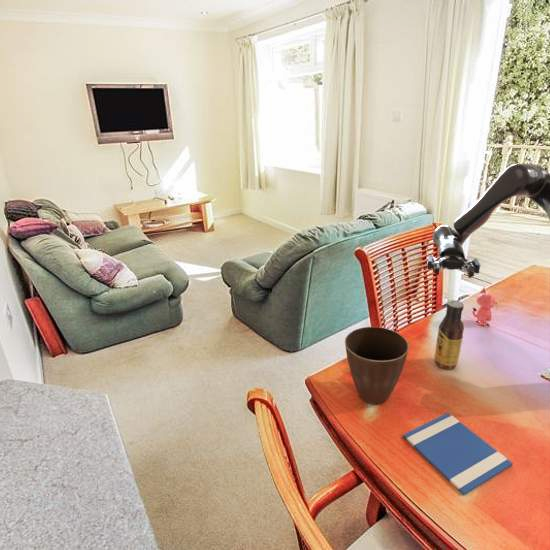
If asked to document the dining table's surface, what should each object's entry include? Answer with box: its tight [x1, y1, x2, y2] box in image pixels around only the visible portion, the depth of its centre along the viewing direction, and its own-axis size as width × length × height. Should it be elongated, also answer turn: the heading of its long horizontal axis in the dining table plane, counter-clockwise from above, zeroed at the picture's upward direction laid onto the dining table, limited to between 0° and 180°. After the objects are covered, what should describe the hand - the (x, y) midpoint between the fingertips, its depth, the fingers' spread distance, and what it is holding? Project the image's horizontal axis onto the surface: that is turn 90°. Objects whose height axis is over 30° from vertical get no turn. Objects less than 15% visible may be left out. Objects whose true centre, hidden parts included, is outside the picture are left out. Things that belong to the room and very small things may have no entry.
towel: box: [402, 412, 513, 496], centre depth 80 cm, size 14×16×1 cm
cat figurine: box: [471, 287, 498, 328], centre depth 123 cm, size 7×7×12 cm
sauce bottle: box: [433, 299, 465, 370], centre depth 103 cm, size 6×6×20 cm
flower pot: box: [344, 326, 410, 405], centre depth 94 cm, size 15×15×16 cm
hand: (454, 273), depth 107 cm, fingers open, 8 cm apart
